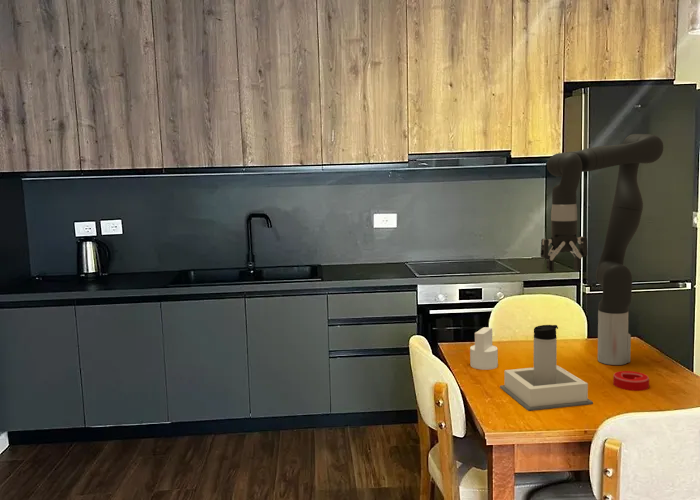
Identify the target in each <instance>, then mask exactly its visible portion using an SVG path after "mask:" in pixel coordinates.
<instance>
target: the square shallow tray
mask: <svg viewBox="0 0 700 500" xmlns="http://www.w3.org/2000/svg"><path fill="white" fill-rule="evenodd" d="M503 372H504V384H503V385H499V388H500V389H501V390H503V392H505V393H506V394H507V395H509V397H511V398H512V399H513V400H514V401H516V402H517V403H518V404H520V406H522V407H523V408H524V409H526V411H528V412H529V411H530V412H531V411H539V410H549V409H550V410H551V409H558V408H568V407H577V406H578V407H579V406H585V405H586V406H587V405H593V404H594V401H592V400H591V399H589V395H588V393H589V392H588V391H589V383H588V382H587V381H584V380H583V379H581V378H579V377H577V376H576V375H574V374H573V373H571V372H570V371H567V370H566V369H565V368H563V367H561V366H560V365H557V364H556V384H551V385H541V386H534V367H524V368H516V369H505V370H504V371H503Z"/></svg>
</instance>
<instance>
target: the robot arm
mask: <svg viewBox="0 0 700 500" xmlns="http://www.w3.org/2000/svg"><path fill="white" fill-rule="evenodd" d="M663 152H664V142H663V141H662V139H661V137H659V136H657V135H655V134H650V133H646V134H645V133H633V134H629V135H628V136H627V137H625V139H624V141H623V142H622V143H620V144H613V145H612V144H611V145H599V146H593V147H589V148H584V149H580V150H575V151H565V152H559V153H554V154H553V155H551V156H550V157H549V159H548V161H547V163H546V168H547V171H548V172H549V174H551V175H552V176H553V177H561V179H560V182H559V184H556V185H554V186H553V187H552V191H551V192H552V193H551V194H552V195H551V204H552V205H551V212H550V218H551V219H550V220H551V221H550V222H551V223H550V225H551V227H550V229H551V230H550V233H551V238H550V239H547V238H541V241H540V242H541V243H540V244H541V245H540V258H542V259H544V260H546V270H547V271H548V273H554V271H555V267H554V266H555V261H554V259H555V257H556V256H557V255H558V254H559V253H565V252H568V253H571V254H572V255H573V257H574V258H573V271H576V272H579V271H580V269H582V268H581V267H582V258H584V257H587V256H588V241H587V240H588V239H587V237H585V236H579V237H578V236H577V234H578V208H577V190H578V187H579V183H580V179H581V176H582V172H584V173H586V172H587V173H588V172H592V171H597V170H602V169H606V168H610V167H615V166H618V173H617V179H616V180H617V181H616V185H615V191H614V196H613V200H612V205H611V210H610V213H609V218H608V219H609V220H608V224H607V229H606V235H605V240H604V244H603V249H602V252H601V255H600V258H599V260H598V264H597V267H596V271H595V279H596V282H597V284H598V285H599V286H601V287H602V298H601V300H600V301H599V302H598V308H597V309H598V311H597V323H598V324H597V361H598V362H599V363H601V364H604V365H609V366H611V365H612V366H623V365H626V364H627V363H631V351H632V350H631V345H632V344H631V343H632V339H631V338H632V335H631V334H630V333H629V311H630V310H629V307H630V305H631V303H632V292H633V275H632V272H631V270H630V269H629V268H628V267H627V266H626V265H624V263H625V262H624V261H625V257H626V252H627V248H628V246H629V244H630V242H631V240H632V239H633V237H634V235H635V234H636V232H637V231H638V228H639V225H640V223H641V219H642V218H641V217H642V214H643V213H642V212H643V209H644V203H643V198H642V194H641V191H640V188H639V184H638V173H639V166H640V164H652V163H654V162H656V161H658V160H659V159H660V158H661V156H662V155H663ZM577 243H578V245H579V246H578V247H579V249H578V248H577V246H576V244H577ZM550 245H552V247H551V248H550V249H549V247H550Z"/></svg>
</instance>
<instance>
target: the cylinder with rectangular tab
mask: <svg viewBox="0 0 700 500" xmlns="http://www.w3.org/2000/svg"><path fill="white" fill-rule="evenodd" d="M498 354H499V353H498V347H497V346H496V345H493V327H488V326H487V327H486V326H485V327H482V328H480V329H479V330H478V331H475V332H474V344H473V345H471V346H470V349H469V355H470V356H469V361H470V363H469V364H470V367H471V368H473V369H476V370H483V371H484V370H487V371H488V370H494V369H497V368H498V366H499V363H498V362H499V361H498V357H499V356H498Z"/></svg>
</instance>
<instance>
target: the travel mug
mask: <svg viewBox="0 0 700 500" xmlns="http://www.w3.org/2000/svg"><path fill="white" fill-rule="evenodd" d="M558 329H559V326H558V325H557V324H542V325H538V326H537V325H536V326H535V327H534V329H533V368H534V386H541V385H551V384H556V365H557V330H558Z"/></svg>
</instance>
